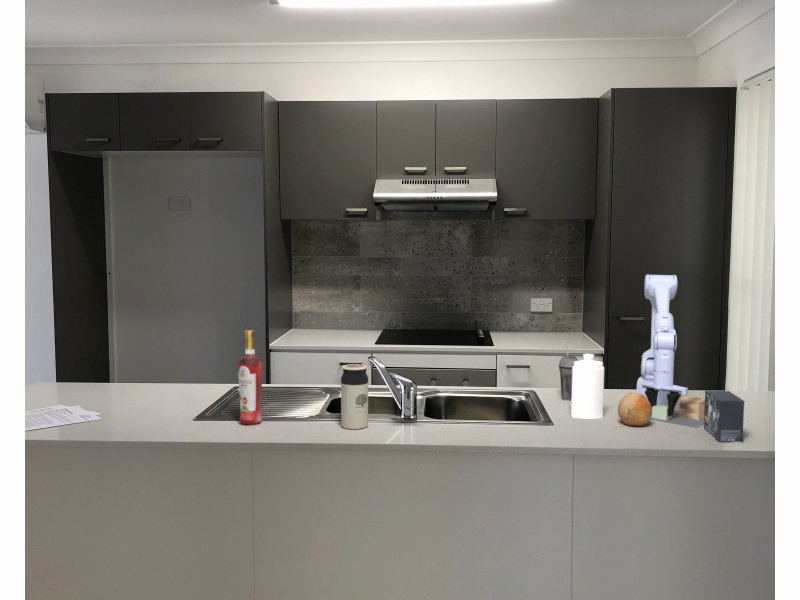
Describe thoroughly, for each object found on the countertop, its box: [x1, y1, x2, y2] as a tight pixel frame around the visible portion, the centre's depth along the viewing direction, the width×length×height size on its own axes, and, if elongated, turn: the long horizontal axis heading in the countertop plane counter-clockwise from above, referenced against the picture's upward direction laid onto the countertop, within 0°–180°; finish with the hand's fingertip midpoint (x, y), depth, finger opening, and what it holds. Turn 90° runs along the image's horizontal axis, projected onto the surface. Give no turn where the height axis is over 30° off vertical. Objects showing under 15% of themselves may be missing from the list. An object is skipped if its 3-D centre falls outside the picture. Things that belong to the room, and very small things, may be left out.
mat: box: [649, 409, 704, 429], centre depth 221 cm, size 15×17×1 cm
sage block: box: [651, 405, 672, 421], centre depth 220 cm, size 4×4×4 cm
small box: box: [703, 390, 745, 443], centre depth 202 cm, size 13×7×12 cm, turn 174°
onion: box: [617, 392, 652, 427], centre depth 213 cm, size 10×10×10 cm
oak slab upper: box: [678, 395, 705, 411], centre depth 223 cm, size 6×6×3 cm
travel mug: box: [340, 363, 369, 430], centre depth 210 cm, size 8×8×18 cm
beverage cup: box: [558, 342, 579, 402], centre depth 247 cm, size 7×7×20 cm
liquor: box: [237, 329, 264, 426], centre depth 212 cm, size 7×7×28 cm
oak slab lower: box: [678, 407, 704, 420], centre depth 223 cm, size 6×6×3 cm
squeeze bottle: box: [570, 353, 605, 420], centre depth 222 cm, size 10×20×5 cm
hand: (661, 414), depth 220 cm, fingers closed on sage block, 4 cm apart
